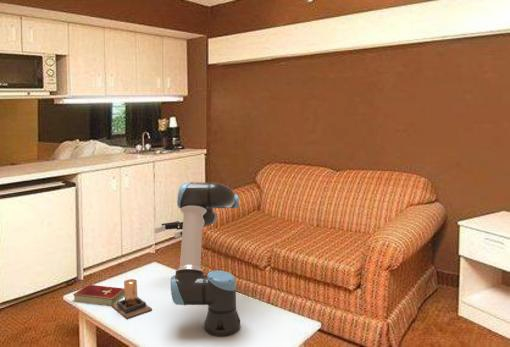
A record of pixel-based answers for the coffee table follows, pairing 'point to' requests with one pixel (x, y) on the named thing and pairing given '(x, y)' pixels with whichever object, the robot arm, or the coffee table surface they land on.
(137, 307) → the duct base
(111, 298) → the hardcover book
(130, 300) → the brushed copper cylinder
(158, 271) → the coffee table surface
